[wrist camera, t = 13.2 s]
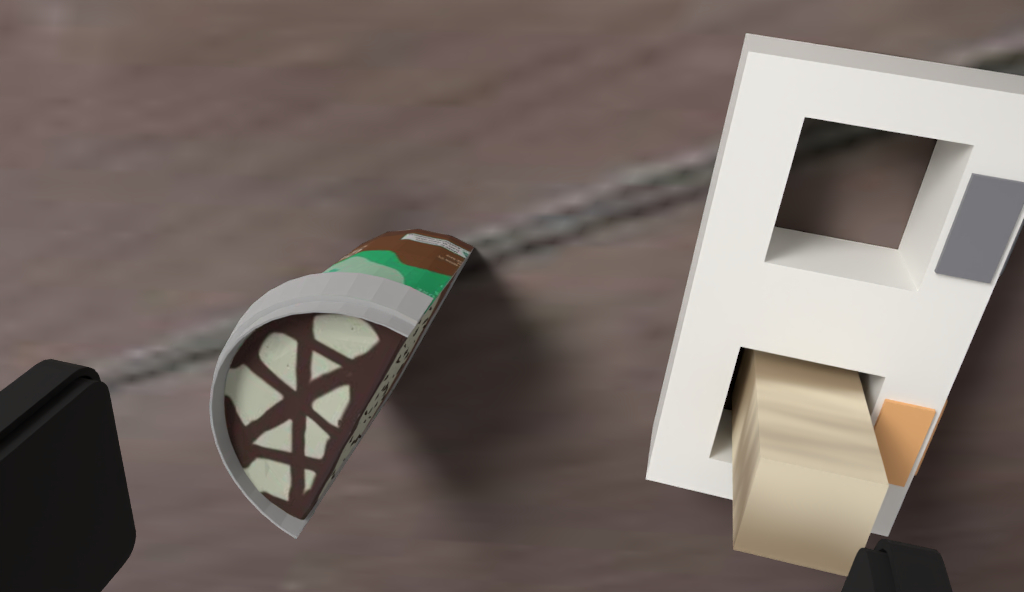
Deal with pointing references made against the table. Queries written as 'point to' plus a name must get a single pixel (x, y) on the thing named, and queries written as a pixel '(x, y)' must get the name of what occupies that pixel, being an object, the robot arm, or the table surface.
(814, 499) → the plug
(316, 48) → the table surface
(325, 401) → the food container
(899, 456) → the socket block
